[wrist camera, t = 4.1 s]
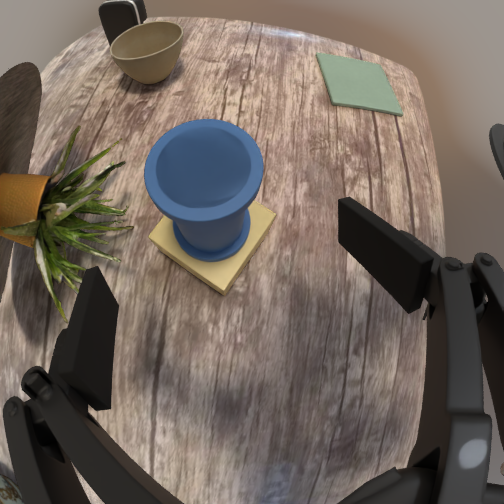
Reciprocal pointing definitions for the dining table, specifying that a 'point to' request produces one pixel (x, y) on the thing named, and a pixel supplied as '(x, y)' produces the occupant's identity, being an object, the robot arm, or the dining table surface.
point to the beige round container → (148, 50)
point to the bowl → (9, 492)
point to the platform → (222, 271)
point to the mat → (358, 84)
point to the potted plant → (43, 190)
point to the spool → (206, 185)
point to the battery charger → (121, 16)
